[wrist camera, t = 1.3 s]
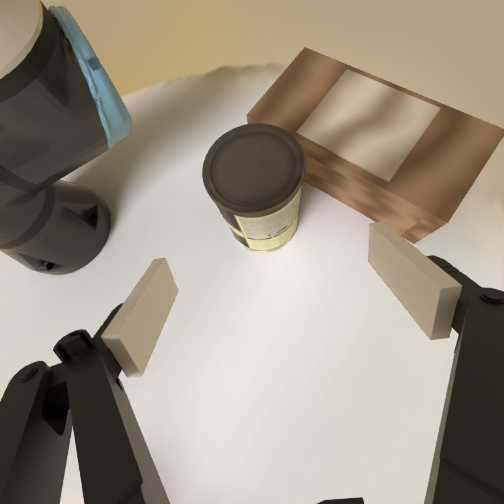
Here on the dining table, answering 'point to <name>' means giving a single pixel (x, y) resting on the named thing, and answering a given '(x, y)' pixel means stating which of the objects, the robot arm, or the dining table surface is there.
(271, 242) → the coffee can
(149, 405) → the dining table surface
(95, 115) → the robot arm
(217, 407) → the dining table surface
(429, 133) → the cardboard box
